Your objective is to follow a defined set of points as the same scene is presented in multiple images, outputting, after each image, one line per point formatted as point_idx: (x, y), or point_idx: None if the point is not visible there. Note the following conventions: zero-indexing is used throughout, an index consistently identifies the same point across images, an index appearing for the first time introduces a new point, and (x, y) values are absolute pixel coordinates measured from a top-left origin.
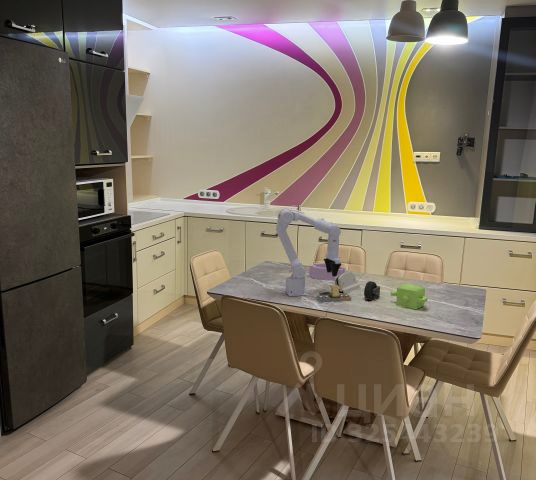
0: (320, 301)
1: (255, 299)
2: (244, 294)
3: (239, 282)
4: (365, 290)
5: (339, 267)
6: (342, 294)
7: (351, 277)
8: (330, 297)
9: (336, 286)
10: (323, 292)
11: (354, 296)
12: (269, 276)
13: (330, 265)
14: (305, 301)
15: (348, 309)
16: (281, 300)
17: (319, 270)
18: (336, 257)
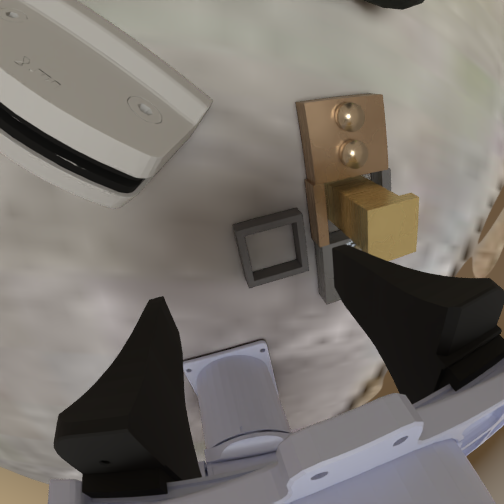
0: None
1: None
2: None
3: None
4: (421, 1)
5: (445, 278)
6: (317, 139)
7: (10, 30)
8: (331, 221)
9: (398, 221)
10: (249, 264)
11: (279, 40)
12: (11, 440)
13: (162, 374)
14: (352, 335)
15: (472, 156)
16: (324, 403)
17: None
18: (458, 449)
